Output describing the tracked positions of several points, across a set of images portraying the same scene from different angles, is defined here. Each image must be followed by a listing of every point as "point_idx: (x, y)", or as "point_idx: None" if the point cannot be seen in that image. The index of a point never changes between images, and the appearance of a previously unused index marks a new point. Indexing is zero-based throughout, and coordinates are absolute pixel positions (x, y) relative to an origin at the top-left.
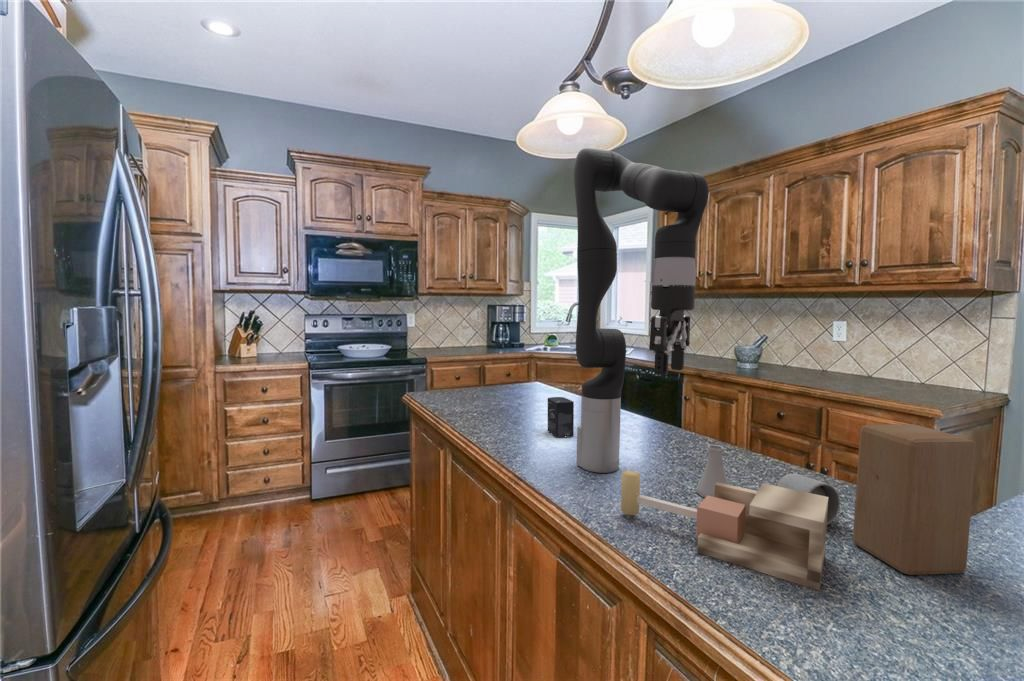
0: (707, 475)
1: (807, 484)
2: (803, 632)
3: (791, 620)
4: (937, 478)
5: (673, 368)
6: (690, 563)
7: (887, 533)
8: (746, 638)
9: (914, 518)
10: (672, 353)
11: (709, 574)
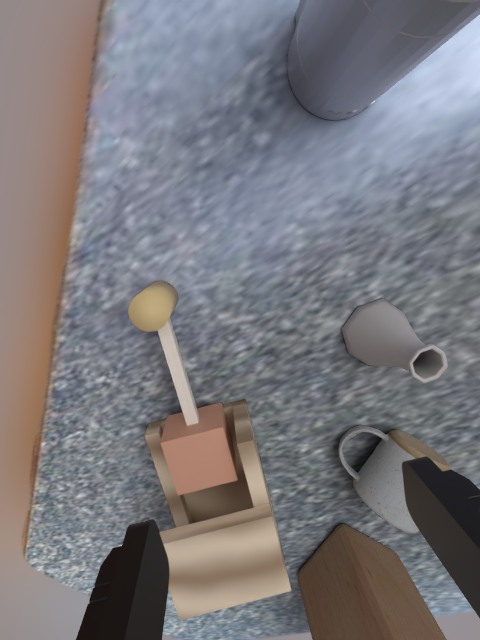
0: (371, 341)
1: (393, 510)
2: (96, 553)
3: (106, 541)
4: None
5: (405, 472)
6: (114, 432)
7: (319, 592)
8: (37, 531)
9: None
10: (473, 546)
11: (112, 458)
